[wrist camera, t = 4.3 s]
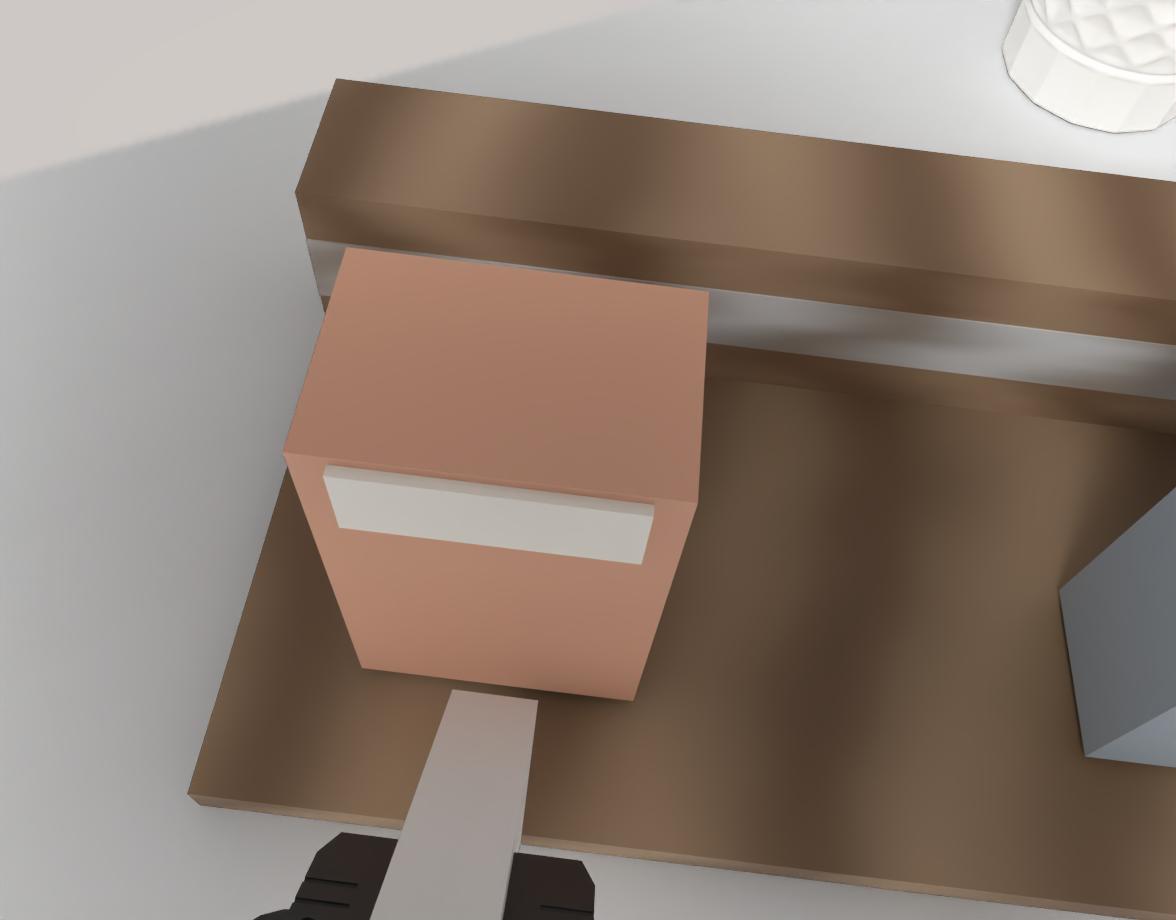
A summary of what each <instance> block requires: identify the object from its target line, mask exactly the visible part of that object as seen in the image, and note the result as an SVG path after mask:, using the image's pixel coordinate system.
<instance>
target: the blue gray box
mask: <svg viewBox="0 0 1176 920" xmlns="http://www.w3.org/2000/svg"><path fill="white" fill-rule="evenodd" d="M1059 592H1060V599H1061V605H1062V612H1063V618H1064V625H1065V631H1066V637H1067V644H1068V650H1069V657H1070V663H1071V670H1072V676H1073V682H1074V689H1075V695H1076V702H1077V708H1078V715H1079V721H1080V728H1081V734H1082V740H1083V747H1084V753H1085V757H1093V758H1101V759H1109V760H1118V761H1126V762H1134V763H1142V764H1150V765H1158V766H1167V767H1175V768H1176V487H1175V488H1174V489H1173V490H1172V491H1171V492H1170V493H1169V494H1168V495H1166V496H1165V497H1164V498H1163V499H1162V500H1161V501H1160V502H1158V503H1157V504H1156V505H1155V506H1154V507H1153V508H1152V509H1151V510H1149V511H1148V512H1147V513H1146V514H1145V515H1144V516H1143V517H1141V518H1140V519H1139V520H1138V521H1137V522H1136V523H1135V524H1134V525H1132V526H1131V527H1130V528H1129V529H1128V530H1127V531H1126V532H1124V533H1123V534H1122V535H1121V536H1120V537H1119V538H1118V539H1117V540H1115V541H1114V542H1113V543H1112V544H1111V545H1110V546H1109V547H1107V548H1106V549H1105V550H1104V551H1103V552H1102V553H1101V554H1100V555H1098V556H1097V557H1096V558H1095V559H1094V560H1093V561H1092V562H1091V563H1089V564H1088V565H1087V566H1086V567H1085V568H1084V569H1083V570H1081V571H1080V572H1079V573H1078V574H1077V575H1076V576H1075V577H1074V578H1072V579H1071V580H1070V581H1069V582H1068V583H1067V584H1066V585H1064V586H1063V587H1062V588H1061V589H1060V590H1059Z"/></svg>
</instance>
